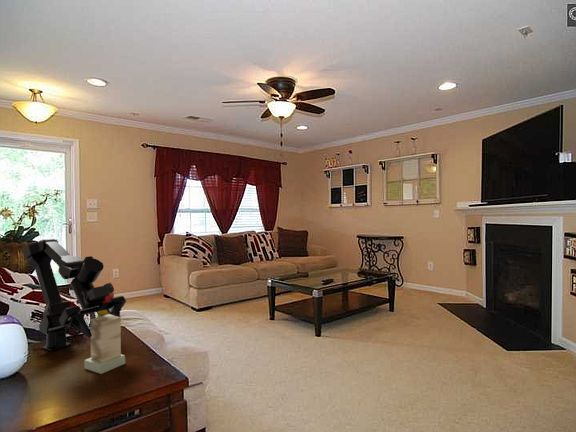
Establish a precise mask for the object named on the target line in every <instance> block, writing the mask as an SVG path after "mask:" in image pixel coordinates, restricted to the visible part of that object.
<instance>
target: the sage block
mask: <svg viewBox="0 0 576 432" xmlns="http://www.w3.org/2000/svg"><path fill="white" fill-rule="evenodd" d="M125 364H126V356H125V354H122V353H121V355H120V356H118V357H115V358H113V359H110V360H108V361H105V362H103V363H102V362H100V361H97V360H95V359H92V358H91V357H89V358H88V357H87V358H86V359H84V369H85V370H88V371H91V372H94V373H97V374H100V375H101V374H104V373H107V372H109V371H111V370H114V369H116V368H118V367H120V366H123V365H125Z"/></svg>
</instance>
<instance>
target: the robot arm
mask: <svg viewBox="0 0 576 432" xmlns="http://www.w3.org/2000/svg"><path fill="white" fill-rule="evenodd" d="M22 254H23V255H22V256H23V258H25V260H26V263H27V264H28V266H30V267H32V269H34V271H35V273H36V277H37V280H38V284H39V287H40V290H41V293H42V296H43V299H44V303H45V307H44V309H43V313H42V317H43V318H42V319H41V321H40V323H39V325H38V328H39V332H40V333H42V334H45V335H46V345H42V346H41V349H44V350H47V351H50V352H53V351H56V350H60V349H62V348H65V347H69V346H71V345H72V344H71V342H67V332H66V331H67V329H68V328H72V329H74V330H76V331H78V332H79V333H81V334H82V335H85V336H86V337H88V338H89V339H91V336H92V334H91V328H89V326H88V323H87V322H86V320H85V315H90V314H94V313H98V312H99V311H103V310H107V312H108V313H110V314H111V315H114V316H118V317H121V310H122V309H123V307H124V306H125V304H126V303H127V299H126V297H125V296H123V295H118V296H114V297H113V298H111V300H110V301H109V303H106V304H103V302H104V301H105V300H106V298H105V297H106V296H109V295H110V294H111V293H112V292H113V293H114V291H115V289H114V285H113V284H112V282H107V283H105V284H103V285H102V286H96V287H95V285H94V284H93V283H95V282H96V281H97V280H98V278H99V276H100V274H101V273H102V271H103V269H104V263H103V262H102V261H100V260H99V259H96V258H94V257H93V256H92V255H90V256H85V257H84V259H83V258H81V257H78V256H73V255H71V253H69V252H68V250H66V248H64V247H63V246H62V245H61V244H60V243H59V241H58V239H55V238H48V239H47V238H45V239H41V240H39V241H36V242H34V243H31V244H28V245H27V246H26V247H25V248H23V252H22ZM52 261H53V262H54V263H55V264H56V265H57V266H58V270H57V271H58V273H59V275H60V276H61V277H62V279H64V280H71V279H72V280H71V281H70V284H69V287H68V290H69V291H72V292H73V293H74V295H75V297H76V300H75V303H76V304H77V305H73V306H71V304H70V302H69V301H68V300H66V301H65V300H64V299H63V298H62V297H61V294H60V290H59V287H58V283H57V281H56V277H55V275H54V271H53V268H52V265H51V263H52Z"/></svg>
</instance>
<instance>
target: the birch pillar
mask: <svg viewBox="0 0 576 432" xmlns="http://www.w3.org/2000/svg"><path fill="white" fill-rule="evenodd" d="M121 321H122V319H121V316H120V317H118V316H114V315H111V314H107V315H104V316H100V317H97V316H96V317H94V318H90V322H89V323H90V328H89V329H90V331H91V334H92V336H91V337H90V358H92V359H95V360H97V361H100V362H102V363H103V362H105V361H108V360H110V359H113V358H115V357H118V356H120V355H121V354H122V344H121V343H122V334H121V333H122V330H121V329H122V327H121V326H122V325H121V324H122V323H121Z"/></svg>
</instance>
